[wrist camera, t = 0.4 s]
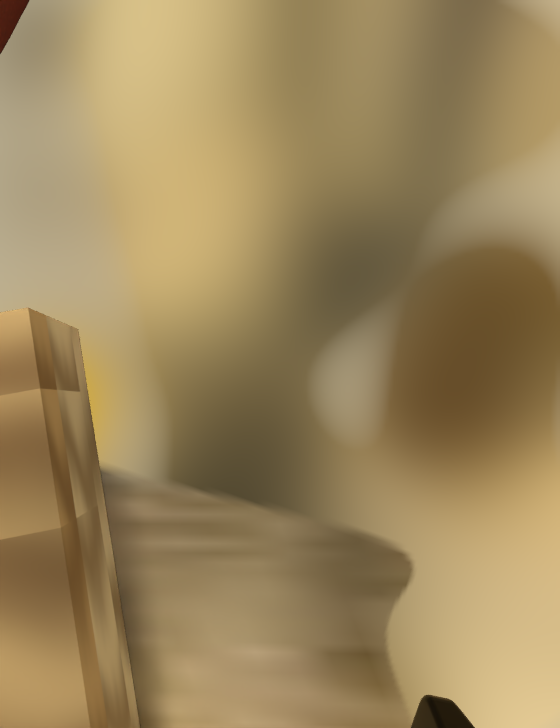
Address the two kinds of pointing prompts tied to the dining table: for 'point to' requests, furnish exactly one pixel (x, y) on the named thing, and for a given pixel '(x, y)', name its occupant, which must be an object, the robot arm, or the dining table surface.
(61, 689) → the tan flat piece
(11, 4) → the plant pot
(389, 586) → the dining table surface
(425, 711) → the robot arm
